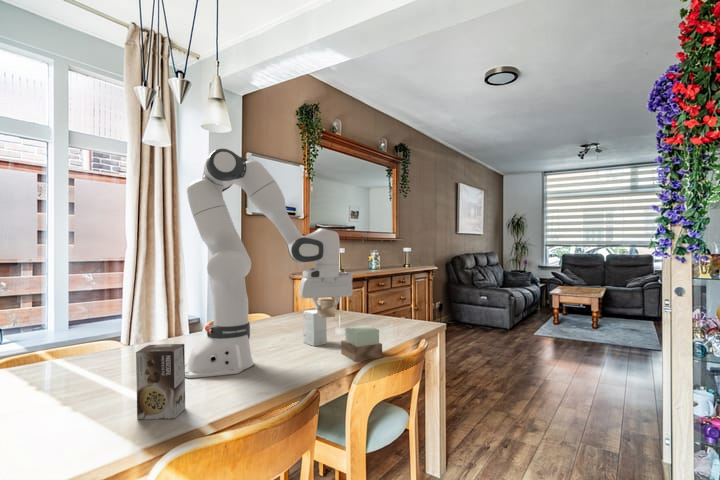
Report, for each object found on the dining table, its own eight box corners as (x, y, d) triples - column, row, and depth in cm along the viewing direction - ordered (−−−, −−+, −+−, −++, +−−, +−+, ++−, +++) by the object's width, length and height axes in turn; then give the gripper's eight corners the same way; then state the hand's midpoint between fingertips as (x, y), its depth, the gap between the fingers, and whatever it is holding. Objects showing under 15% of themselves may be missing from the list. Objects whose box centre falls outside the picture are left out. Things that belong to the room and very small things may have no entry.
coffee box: (186, 407, 98) (186, 343, 98) (175, 419, 91) (174, 350, 91) (149, 408, 97) (149, 343, 97) (135, 420, 91) (135, 351, 91)
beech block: (322, 317, 141) (322, 300, 141) (317, 315, 145) (317, 299, 145) (334, 316, 143) (335, 300, 143) (329, 314, 148) (330, 298, 148)
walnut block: (354, 362, 134) (354, 348, 134) (341, 354, 144) (341, 341, 144) (382, 357, 140) (382, 344, 140) (367, 350, 149) (367, 337, 149)
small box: (327, 343, 158) (326, 311, 158) (313, 346, 154) (313, 313, 154) (316, 340, 164) (315, 309, 164) (303, 342, 160) (302, 310, 160)
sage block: (356, 347, 136) (356, 332, 136) (345, 341, 144) (345, 327, 144) (379, 343, 140) (379, 329, 140) (367, 338, 148) (367, 325, 148)
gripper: (348, 271, 152) (347, 306, 152) (298, 271, 143) (297, 309, 143) (356, 272, 146) (355, 309, 146) (304, 273, 137) (302, 312, 137)
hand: (326, 309), depth 144 cm, fingers closed on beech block, 5 cm apart
